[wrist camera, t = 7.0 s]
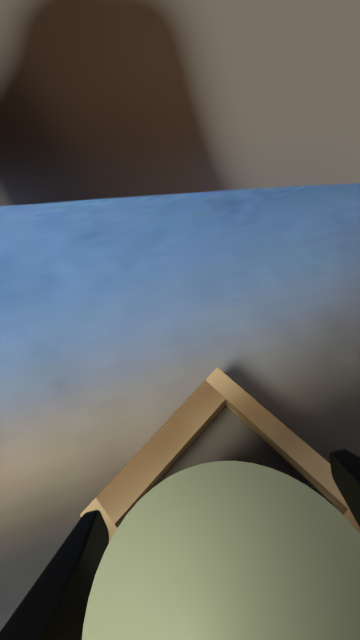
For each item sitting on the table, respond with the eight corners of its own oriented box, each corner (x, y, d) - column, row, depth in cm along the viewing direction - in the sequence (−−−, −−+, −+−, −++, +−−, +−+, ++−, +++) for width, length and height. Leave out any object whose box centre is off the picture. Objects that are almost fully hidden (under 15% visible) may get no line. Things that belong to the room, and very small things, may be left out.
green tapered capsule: (279, 550, 14) (543, 920, 2) (198, 570, 14) (90, 1021, 2) (251, 460, 16) (327, 432, 4) (181, 477, 16) (74, 495, 4)
